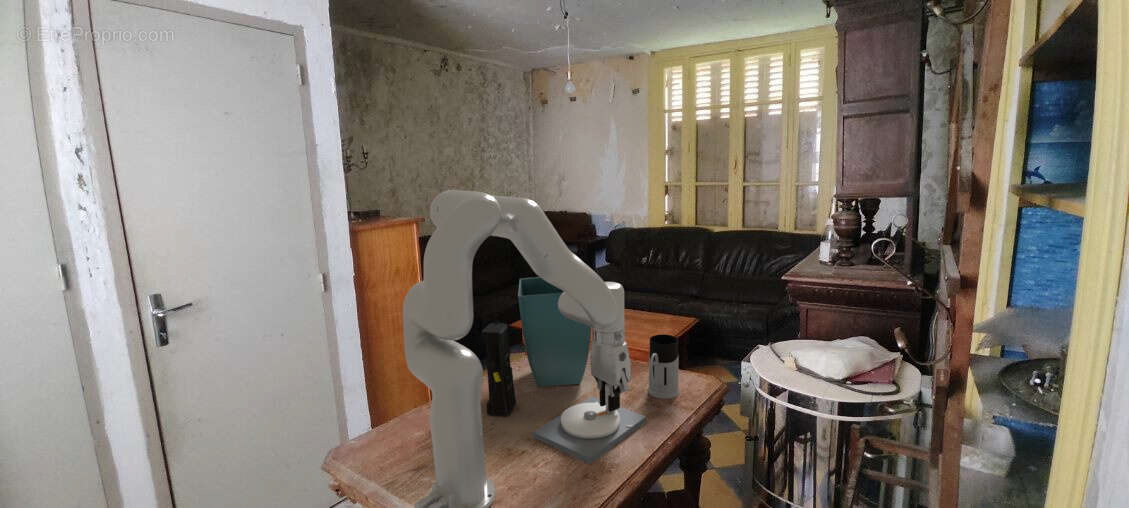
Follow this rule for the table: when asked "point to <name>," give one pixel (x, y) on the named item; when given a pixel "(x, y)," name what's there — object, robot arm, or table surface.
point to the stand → (588, 447)
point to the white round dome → (590, 419)
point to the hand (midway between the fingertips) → (609, 406)
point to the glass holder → (663, 367)
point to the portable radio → (499, 369)
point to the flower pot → (551, 335)
